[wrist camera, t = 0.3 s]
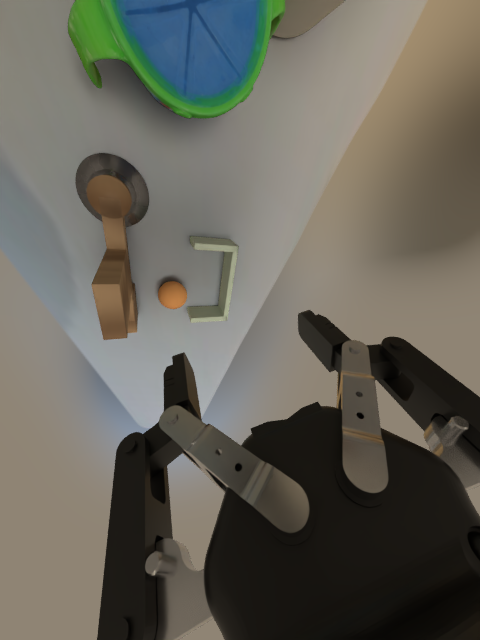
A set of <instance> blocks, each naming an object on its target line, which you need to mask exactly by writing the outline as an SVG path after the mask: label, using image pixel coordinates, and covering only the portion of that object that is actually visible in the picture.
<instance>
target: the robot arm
mask: <svg viewBox="0 0 480 640" xmlns="http://www.w3.org/2000/svg"><path fill="white" fill-rule="evenodd" d="M298 330H299V334H300V336H301V338H302V340H303V341H304V342H305V343H306V344H307V345H308V347H309V348H310V349H311V350H312V352H313V353H314V354H315V355H316V356H317V358H318V359H319V360H320V361H321V362H322V364H323V365H324V366H325V367H326V368H327V369H328V371H329V372H331V371H334V370H336V371H337V372H338V382H337V383H338V384H337V406H336V408H335V407H329V406H320V404H319V403H318V402H315V403H313V404H310V405H308V406H306V407H303V408H301V409H300V410H299V411H297V412H296V413H295V414H293V415H292V416H291V417H289V418H288V419H286V420H278V421H270V422H266V423H263V424H261V425H259V426H256V427H253V428H251V431H252V434H251V435H250V436H249V437H248V438H247V439H246V440H245V441H244V442H243V444H242V445H239V444H238V443H236V442H235V441H234V440H232V439H231V438H229V437H228V436H226V435H225V434H224V433H222V432H221V431H219V430H218V429H216V428H215V427H214V426H212V425H210V424H208V425H206V424H205V423H203V422H202V419H201V413H200V407H199V400H198V394H197V388H196V382H195V376H194V372H193V369H192V367H191V365H190V363H189V361H188V359H187V357H186V355H185V353H184V352H183V353H181V354H178V355H175V356H173V357H172V359H173V365H171V366H168V367H167V368H166V370H165V372H164V412H163V413H162V415H161V417H160V419H159V422H158V423H157V424H156V425H155V426H153V427H152V428H151V429H149V430H148V431H146V432H145V433H144V434H142V433H139V432H135V433H132V434H130V435H128V436H127V437H125V438H124V439H123V440H122V442H121V443H120V444H119V446H118V449H117V452H116V460H115V470H114V480H113V489H112V500H111V509H110V519H109V529H108V539H107V549H106V558H105V568H104V578H103V588H102V597H101V607H100V618H99V627H98V637H97V640H179V639H181V638H183V637H184V636H186V635H188V634H189V633H191V632H192V631H194V630H196V629H197V628H199V627H200V626H202V625H204V624H205V623H207V622H209V621H210V620H212V619H213V618H214V620H215V621H216V623H217V625H218V627H219V629H220V631H221V633H222V635H223V637H224V639H225V640H480V516H479V514H478V513H477V511H476V510H475V508H474V506H473V504H472V503H471V500H470V498H469V496H468V494H467V492H466V491H468V490H470V489H473V488H476V487H478V486H480V397H479V396H478V395H476V394H475V393H474V392H472V391H471V390H470V389H468V388H467V387H466V386H464V385H463V384H462V383H461V382H459V381H458V380H457V379H455V378H454V377H453V376H451V375H450V374H449V373H447V372H446V371H445V370H443V369H442V368H441V367H440V366H438V365H437V364H436V363H434V362H433V361H432V360H430V359H429V358H428V357H427V356H425V355H424V354H423V353H421V352H420V351H419V350H417V349H416V348H415V347H413V346H412V345H411V344H410V343H408V342H407V341H406V340H404V339H401V338H398V337H387V338H385V339H383V341H382V343H381V344H378V345H365V344H364V343H362V342H360V341H356V340H351V339H349V338H348V337H347V336H346V335H345V334H344V333H343V332H341V331H340V330H339V329H338V328H337V327H335V325H334V324H333V323H331V322H330V321H329V320H328V319H327V318H326V317H323V316H321V315H319V314H318V315H315V314H314V313H313V312H312V311H310V310H307V311H304V312H301V313H299V314H298ZM375 380H377V381H378V382H379V383H380V384H381V385H382V386H383V387H384V388H385V389H386V390H387V391H388V393H389V394H390V395H391V396H392V397H393V398H394V399H395V400H396V401H397V402H398V403H399V404H400V405H401V406H402V407H403V409H404V410H405V411H406V412H407V413H408V414H409V415H410V416H411V417H412V418H413V420H415V422H416V423H417V424H418V425H419V426H420V427H421V428H422V429H423V430H424V439H425V441H426V443H427V444H428V446H429V449H430V451H431V452H430V451H429V450H427V449H425V448H423V447H421V446H418V445H416V444H414V443H412V442H410V441H408V440H405V439H403V438H401V437H399V436H397V435H395V434H392V433H390V432H388V431H386V430H384V429H382V428H380V420H379V411H378V403H377V394H376V386H375ZM182 453H183V454H184V455H185V456H186V457H187V458H188V459H189V460H191V462H193V463H194V464H195V465H196V466H197V467H198V468H199V469H200V470H201V471H203V472H204V473H205V474H206V475H207V476H208V477H209V478H210V479H211V480H212V481H213V482H214V483H215V484H216V485H217V486H218V487H219V488H220V489H221V490H223V491H224V492H225V495H224V499H223V502H222V505H221V508H220V511H219V514H218V518H217V521H216V524H215V527H214V531H213V534H212V538H211V540H210V544H209V547H208V550H207V554H206V558H205V565H204V569H203V570H201V571H197V570H196V569H195V568H194V566H193V564H192V562H191V560H190V555H189V552H188V549H187V548H186V546H185V545H184V544H182V543H180V542H178V541H175V540H173V537H172V524H171V510H170V497H169V486H168V485H169V484H168V473H167V472H168V471H167V465H168V464H169V463H171V462H172V461H173V460H174V459H176V458H177V457H178V456H179V455H180V454H182Z"/></svg>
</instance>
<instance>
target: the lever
mask: <svg viewBox="0 0 480 640" xmlns="http://www.w3.org/2000/svg"><path fill="white" fill-rule="evenodd" d="M87 197H88V200H89V202H90V204H91V206H92V207H93V208H94V209H95V210H96V211H97V212H98V213H99V214H101V215H102V221H103V227H104V233H105V240H106V246H107V250H106V252H105V255H104V257H103V259H102V261H101V264H100V266H99V268H98V271H97V273H96V275H95V277H94V280H93V282H92V289H93V294H94V298H95V303H96V307H97V312H98V316H99V321H100V325H101V330H102V334H103V339H104V340H108V339H121V338H127V334H128V333H133V332H137V318H138V312H137V302H136V293H135V284H134V283H132V281H131V272H130V263H129V255H128V246H127V237H126V228H125V219H124V216H125V215H126V214H127V213H128V212H129V210H130V207H131V204H132V197H131V193H130V191H129V189H128V187H127V186H126V185H125V183H124V182H123V181H121V180H120V179H119V178H117V177H115V176H112V175H107V174H106V175H99V176H96V177H94V178H93V179H91V180H90V182H89V183H88V186H87Z"/></svg>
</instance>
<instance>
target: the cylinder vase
mask: <svg viewBox="0 0 480 640" xmlns="http://www.w3.org/2000/svg"><path fill="white" fill-rule="evenodd" d="M344 1H345V0H285V13H284V16H283V18H282V19H281V21H280V23H279V25H278V27H277V29H276V31H275V32H274V34H273V35H274V36H277V37H281V38H292V37H296V36H299V35H301V34H303V33H305V32H307V31H308V30H310V29H311V28H312V27H313V26H315V25H316V24H317V23H318V22H320V21H321V20H322V19H323V18H324V17H326V16H327V15H328V14H329V13H331V12H332V11H333V10H334V9H336V8H337V7H338V6H339V5H340V4H342V3H343V2H344Z"/></svg>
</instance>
